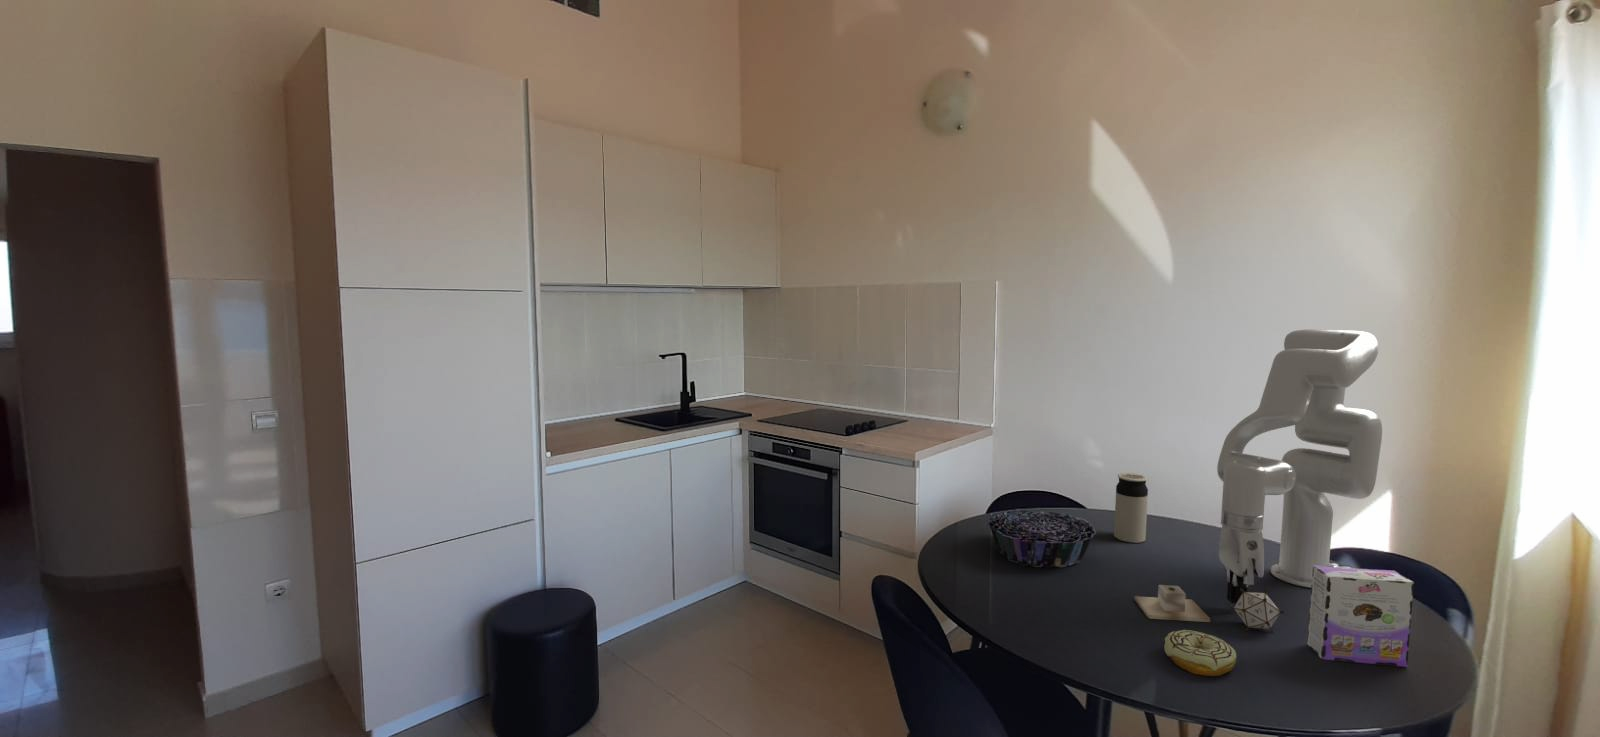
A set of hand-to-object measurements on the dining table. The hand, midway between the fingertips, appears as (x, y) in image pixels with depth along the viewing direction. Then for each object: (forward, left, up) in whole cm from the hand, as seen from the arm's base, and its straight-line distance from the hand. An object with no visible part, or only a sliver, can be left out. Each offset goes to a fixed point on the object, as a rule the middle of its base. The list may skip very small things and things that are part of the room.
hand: (1236, 601), depth 144 cm
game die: (0, +8, -2) cm, 8 cm away
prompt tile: (+14, +2, -2) cm, 14 cm away
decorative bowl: (+35, -29, -3) cm, 45 cm away
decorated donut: (+17, +23, -2) cm, 29 cm away
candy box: (-13, +17, -2) cm, 21 cm away
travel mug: (+8, -43, -2) cm, 44 cm away
